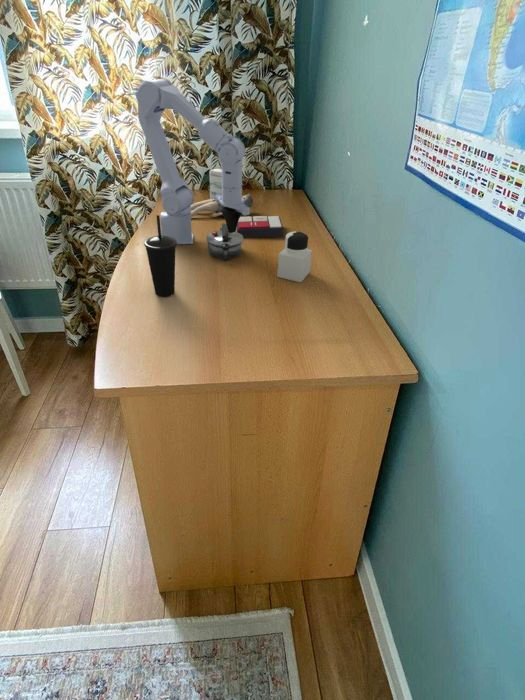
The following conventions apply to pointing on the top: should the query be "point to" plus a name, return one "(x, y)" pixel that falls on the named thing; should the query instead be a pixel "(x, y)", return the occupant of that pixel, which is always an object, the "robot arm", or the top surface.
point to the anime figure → (216, 205)
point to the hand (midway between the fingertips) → (231, 232)
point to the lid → (224, 238)
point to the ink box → (215, 182)
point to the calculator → (260, 226)
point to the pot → (224, 251)
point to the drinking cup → (162, 262)
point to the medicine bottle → (295, 257)
